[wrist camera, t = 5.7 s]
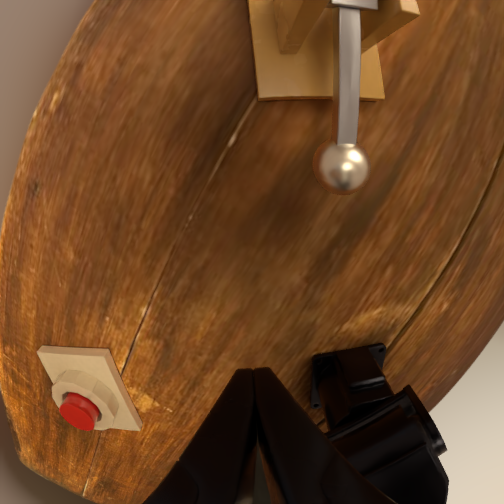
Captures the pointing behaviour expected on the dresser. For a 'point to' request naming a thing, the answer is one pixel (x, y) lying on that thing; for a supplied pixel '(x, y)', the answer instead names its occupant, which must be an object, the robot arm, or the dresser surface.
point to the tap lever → (345, 104)
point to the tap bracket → (315, 47)
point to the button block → (91, 383)
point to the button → (79, 411)
